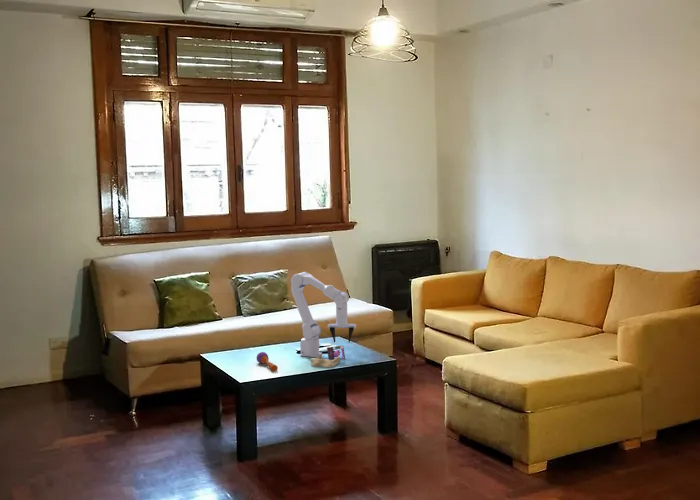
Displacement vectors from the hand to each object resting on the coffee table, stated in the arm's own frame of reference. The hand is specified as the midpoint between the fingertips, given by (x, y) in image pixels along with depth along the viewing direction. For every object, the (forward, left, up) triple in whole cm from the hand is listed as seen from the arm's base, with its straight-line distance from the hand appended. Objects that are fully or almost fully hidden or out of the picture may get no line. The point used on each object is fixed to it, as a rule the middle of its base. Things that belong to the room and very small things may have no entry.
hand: (341, 341), depth 394 cm
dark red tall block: (-3, -1, -9) cm, 10 cm away
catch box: (-4, -13, -9) cm, 16 cm away
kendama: (-30, -26, -9) cm, 41 cm away
